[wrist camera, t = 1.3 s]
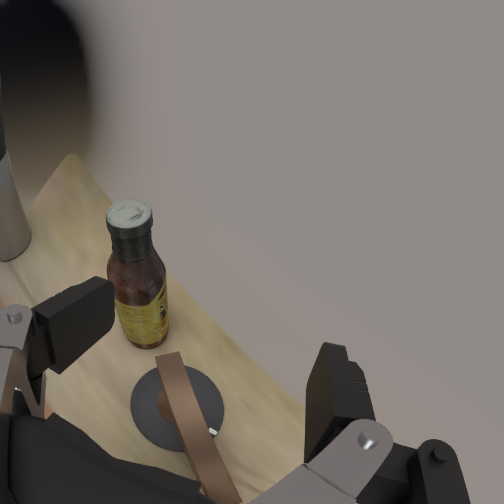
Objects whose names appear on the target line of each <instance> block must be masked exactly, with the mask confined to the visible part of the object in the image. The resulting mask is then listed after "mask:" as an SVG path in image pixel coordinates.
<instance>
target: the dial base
mask: <svg viewBox="0 0 504 504" xmlns="http://www.w3.org/2000/svg"><path fill="white" fill-rule="evenodd" d="M184 367H185V370H186V373H187V375H188V378H189V381H190V384H191V387H192V389H193V392H194V395H195V397H196V400H197V402H198V405H199V408H200V410H201V413H202V415H203V418H204V420H205V422H206V425H207V427H208V430H209V432H210V434H211V437H212V438H213V437H214V436H215V435H216V434H217V432H218V430H219V429H220V426H221V424H222V421H223V416H224V406H223V400H222V397H221V395H220V392H219V390H218V389H217V387H216V386H215V384H214V383H213V382H212V381H211V380H210V379H209V378H208V377H207V376H206V375H205V374H203V373H202V372H200V371H198V370H196V369H194V368H191V367H188V366H184ZM162 391H163V389H162V385H161V381H160V377H159V372H158V368H154V369H152V370H150V371H149V372H147V373H146V374H145V375H144V376H143V377H141V378H140V380H139V381H138V382H137V384H136V386H135V387H134V390H133V392H132V396H131V413H132V417H133V420H134V422H135V424H136V426H137V428H138V429H139V431H140V432H141V433H142V434H143V435H144V436H145V437H146V438H147V439H148V440H149V441H151V442H152V443H154V444H156V445H158V446H160V447H162V448H165V449H168V450H172V451H185V450H184V447H183V445H182V443H181V440H180V437H179V435H178V432H177V430H176V427H175V424H174V423H171V422H169V421H167V420H165V419H164V418H163V417H162V416H161V414H160V412H159V410H158V407H157V399H158V396H159V395H160V393H161V392H162Z"/></svg>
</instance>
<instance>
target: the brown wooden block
mask: <svg viewBox="0 0 504 504" xmlns="http://www.w3.org/2000/svg"><path fill="white" fill-rule="evenodd" d="M155 359H156V363H157V368H158V372H159V377H160V381H161V385H162V389H163V391H162V392H161V393H160V395H159V396H158V399H157V407H158V410H159V412H160V414H161V416H162V417H163V418H164V419H165V420H167V421H169V422H171V423H174V424H175V427H176V430H177V432H178V435H179V437H180V440H181V443H182V445H183V447H184V450H185V452H186V455H187V457H188V459H189V462H190V464H191V466H192V469H193V471H194V473H195V475H196V477H197V479H198V482H201V488H202V490H203V492H204V494H205V495H206V496H207V497H209V498H210V499H212V500H213V501H215V502H216V503H218V504H238V503H241V502H243V501H242V499H241V498H240V496H239V494H238V492H237V490H236V488H235V486H234V484H233V482H232V480H231V478H230V476H229V474H228V472H227V470H226V468H225V465H224V463H223V461H222V459H221V457H220V455H219V452H218V450H217V448H216V446H215V444H214V441H213V439H212V437H211V434H210V432H209V430H208V427H207V425H206V422H205V420H204V418H203V415H202V413H201V410H200V408H199V405H198V402H197V400H196V397H195V395H194V392H193V389H192V387H191V384H190V381H189V378H188V375H187V373H186V370H185V367H184V364H183V361H182V358H181V355H180V352H179V351H178V352H174V353H170V354H165V355H161V356H156V357H155Z"/></svg>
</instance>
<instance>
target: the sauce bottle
mask: <svg viewBox="0 0 504 504" xmlns="http://www.w3.org/2000/svg"><path fill="white" fill-rule="evenodd" d="M106 223H107V228H108V230H109V232H110V234H111V240H112V251H113V252H112V254H111V256H110V258H109V260H108V264H107V278H108V280H109V281H111V282H113V284H114V287H115V307H116V311H117V314H118V317H119V320H120V323H121V326H122V328H123V331H124V333H125V335H126V336H127V338H128V339H129V341H130V342H132V343H133V344H134V345H136V346H138V347H141V348H153V347H155V346H157V345H159V344H160V343H161V342H162V341H163V340H164V339H165V337H166V334H167V330H168V324H169V323H168V307H167V305H168V304H167V286H166V269H165V266H164V264H163V262H162V260H161V259H160V257H159V255H158V254H157V252H156V250H155V249H154V247H153V245H152V239H151V227H152V225H153V218H152V209H151V207H150V206H149V205H148V204H147V203H146V202H144V201H142V200H139V199H134V198H127V199H123V200H119V201H117V202H115V203H114V204H113V205H111V206H110V207H109V208H108V210H107V212H106Z"/></svg>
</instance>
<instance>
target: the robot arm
mask: <svg viewBox="0 0 504 504" xmlns="http://www.w3.org/2000/svg"><path fill="white" fill-rule="evenodd" d="M30 239H31V231H30V228H29V225H28V223H27V220H26V217H25V214H24V211H23V208H22V205H21V202H20V199H19V195H18V192H17V189H16V185H15V182H14V178H13V174H12V171H11V167H10V163H9V159H8V154H7V150H6V145H5V135H4V122H3V113H2V99H1V76H0V261H7V260H11V259H13V258H15V257H17V256H18V255H20V254H21V253H22V252H23V251H24V250H25V249H26V247H27V246H28V244H29V242H30ZM114 319H115V287H114V284H113V282H111V281H109V280H106V279H103V278H101V277H98V276H94V277H92V278H91V279H89V280H87V281H85V282H83V283H81V284H79V285H75V286H71V287H69V288H67V289H65V290H64V291H62V293H61V292H60V293H58V294H56V295H55V297H54V296H53V297H51V298H49V299H47V300H46V301H44V302H42V303H40V304H39V305H37V306H35V307H33V308H32V309H30V308H29V307H27V306H24V305H19V304H14V305H9V306H6V307H4V308H2V309H1V310H0V504H218V503H216V502H215V501H213V500H212V499H210V498H209V497H207V496H205V495H204V494H202V493H200V492H199V491H200V486H201V482H198V481H195V480H192V479H189V478H185V477H182V476H180V475H177V474H174V473H171V472H168V471H166V470H163V469H160V468H157V467H152V466H146V465H142V464H137V463H133V462H128V461H124V460H120V459H117V458H114V457H112V456H111V455H109V454H108V453H107V452H106V451H105V450H103V449H102V448H101V447H100V446H99V445H98V444H97V443H95V442H94V441H93V440H92V439H91V438H90V437H89V436H88V435H87V434H86V433H85V432H83V431H82V430H81V429H79V428H77V427H76V426H74V425H72V424H71V423H69V422H68V421H66V420H65V419H63V418H61V417H60V416H58V415H57V414H55V413H54V412H53V413H52V414H51V415H50V416H49V417H48V418H47V419H45V417H44V404H45V388H46V373H45V370H46V369H47V368H50V369H51V370H53V371H54V372H56V373H57V374H59V375H60V374H61V373H62V372H63V371H64V370H65V369H66V368H68V367H69V366H70V365H71V364H72V363H73V362H74V361H75V360H77V359H78V358H79V357H80V356H81V355H82V354H83V353H85V352H86V351H87V350H88V349H89V348H90V347H91V346H93V345H94V344H95V343H96V342H97V341H98V340H100V339H101V338H102V337H103V336H104V335H105V334H107V333H108V332H109V331H110V330H111V328H112V326H113V324H114ZM304 463H307V465H305V464H302V465H300V466H299V467H297V468H296V469H295V470H293V471H292V472H291V473H290V474H288V475H287V476H286V477H284V478H283V479H282V480H280V481H279V482H278V483H276V484H275V485H274V486H272V487H271V488H270V489H268V490H267V491H266V492H264V493H263V494H261V495H260V496H258V497H257V498H255V499H254V500H252V501H251V502H249V503H248V504H355V503H358V504H470V500H469V496H468V492H467V488H466V485H465V481H464V478H463V474H462V471H461V468H460V465H459V461H458V458H457V456H456V453H455V451H454V450H453V449H452V447H451V446H450V445H448V444H447V443H445V442H443V441H441V440H437V439H430V440H427V441H425V442H423V443H422V445H421V446H420V447H419V448H418V449H414V448H410V447H406V446H403V445H399V444H396V443H394V442H393V438H392V435H391V433H390V432H389V431H388V429H387V428H386V427H385V426H383V425H382V424H380V423H378V422H376V420H375V415H374V411H373V407H372V403H371V399H370V395H369V393H368V387H367V384H366V380H365V376H364V372H363V371H362V369H361V368H360V367H359V366H358V365H357V363H356V362H352V361H349V360H348V356H347V352H346V348H345V346H342V345H336V344H332V343H327V342H324V343H323V345H322V347H321V349H320V351H319V354H318V357H317V359H316V362H315V364H314V367H313V369H312V371H311V374H310V376H309V379H308V383H307V387H306V417H305V448H304Z"/></svg>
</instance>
